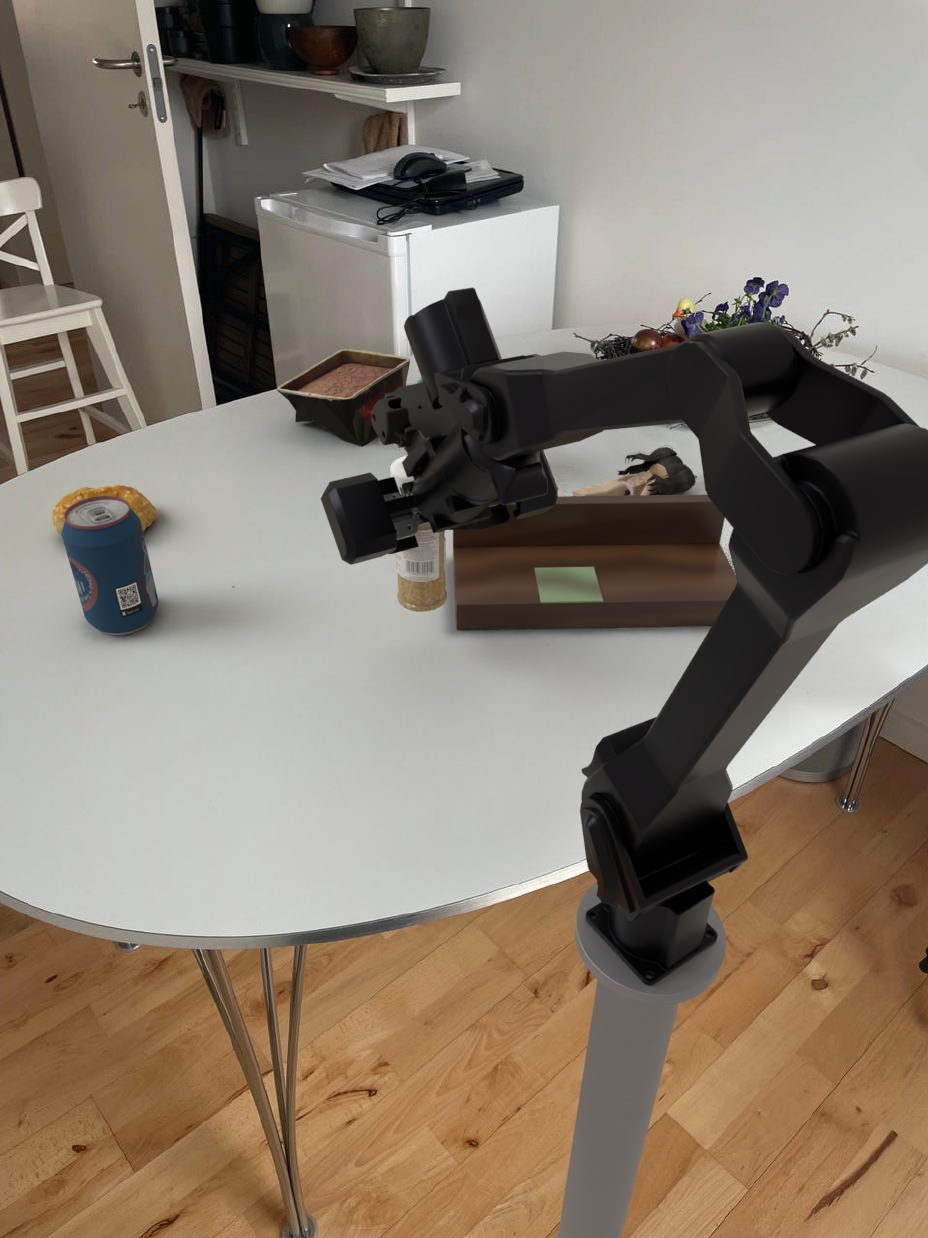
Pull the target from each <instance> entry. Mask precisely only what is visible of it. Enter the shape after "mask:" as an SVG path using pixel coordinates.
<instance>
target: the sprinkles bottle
mask: <svg viewBox="0 0 928 1238" xmlns="http://www.w3.org/2000/svg"><path fill="white" fill-rule="evenodd" d="M406 457H407V455H404V456H400V457H399V458H397V459H395V460H394V461H393V462H392V463H391V465H390V466H389V478H390V477H394V478H395V481H396V483H397V486H398V489H399V492H400V495H401V496H403V495H402V494H401V491H400V486H401V484H403V483H407V482H411V481H414V478H413V476H412V477H407V476H406V473H405V470H404V467H403V464H402V462H403V461H404V460H405V458H406ZM411 495H413V494H412V493H411ZM406 496H408V495H407V493H406ZM418 512H419V513H420V515H421V512H420V511H418ZM416 513H417V512H414V514H415V515H416ZM445 531H446V530H445ZM445 531H441V532H438V533H434V534H433V531H432V528H431V525H430V523H428V524H424V525H420V526H418V531H417V533H416V534H415V537H416V539H417V542H418V545H419V547H416V548H413V549H409V550H405V551H402V552H398V553H395V565H396V566H395V567H396V572H397V596H396V597H397V603H398V604H400V606H402V607H403V608H405V609H407V610H409V611H411V612H416V613H417V612H418V613H423V612H431V611H435V610H437V609H439V608H441V607H442V606H443V605H445V604H446V601H447V600H448V591H447V589H446V588H447V582H446V579H447V577H446V569H447V544H446V542H447V541H446V535H445V533H446V532H445Z"/></svg>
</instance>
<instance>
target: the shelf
mask: <svg viewBox="0 0 928 1238" xmlns="http://www.w3.org/2000/svg"><path fill="white" fill-rule="evenodd" d="M506 507H507V509H508V512H509V515H510V518H509V521H508V522H507V523H505V524H501V525H497V526H494V527H490V528H486V529H483V530H452V573H453V576H452V577H453V592H454V594H453V595H454V610H455V611H454V612H455V627H456V628H455V629H456V631H468V630H469V631H472V630H473V631H475V630H477V631H479V630H480V631H482V630H530V629H531V630H532V629H534V630H535V629H536V630H537V629H541V630H542V629H589V628H646V627H647V628H648V627H650V628H651V627H699V626H700V627H703V626H704V627H705V626H712V625H713V623H714V622H715V620H716V619H717V617H718V615H719V614H720V612H721V610H722V609H723V607H724V605H725V604H726V602H727V600H728V599H729V597H730V595H731V594H732V592H733V591H734V589H735V587H736V584H737V578H736V574H735V570H734V568H733V567H732V565H731V563H730V560H729V559H728V557H727V555H726V553H725V550H723V547H722V544H721V539H722V535H723V529H724V524H725V520H726V518H725V517H724V516H723V515H722V513H721V512H720V511H719V510H718V508H717V507H716V506H715V505H714V503H713V502H712V501H711V500H710V498H709V497H708V495H707V494H682V495H680V494H674V495H660V494H656V495H653V494H649V495H633V496H573V495H572V496H571V495H570V496H569V495H567V496H566V495H562V496H558V497H557V501H556V504H555V505H554V506H553V507H552V508H551V509H549V510H548V511H547V512H544V513H541V514H537V515H533V516H530V517H526V518H522V519H516V518H515V516H514V513H513V511H514V510H516V509H517V506H516V503H512V504H508V505H506Z"/></svg>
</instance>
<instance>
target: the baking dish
mask: <svg viewBox="0 0 928 1238" xmlns="http://www.w3.org/2000/svg"><path fill="white" fill-rule="evenodd" d="M410 363H411V359H410V358H409V357H406V356H405V357H404V356H401V355H395V354H390V353H385V352H384V353H383V352H380V351H372V350H365V349H364V350H363V349H362V350H361V349H354V348H341V349H339V350H336V352H334V353H333V354H330V355H329V356H327V357H326V358H324V359H322V360H321V361H319V362H318V363H316V364H314V365H313V366H310V367H309V368H307V369H305V370H304V371H302V372H301V373H299V374H297V375H295V376H294V377H292V378H291V379H289V380H286V381H285V382H284V383H282V384H281V385H279V386H278V387H277V388H276V391H277V392H278V393H279V394H280V395H282V396H283V397H284V398H285V399H286V400H287V401H288V402H289V403H290V405H291V406H292V407H293V409H294V410H295V417H294V418H295V419H294V421H295V422H294V423H303V422H304V423H307V422H313V423H315V424H317V426H319V427H322V428H323V429H325V430H326V431H328V432H329V433H330V434H333V435H334V436H336V437H337V438H339V439H341V441H344V442H346V443H349V444H352V445H355V446H359V447H364V446H366V445H368V444H369V443H371V442H372V441H373V440H375V439H376V438H379V437H378V435H377V433H376V431H375V430H374V428H373V426H372V422H371V416H372V410H373V407H374V406H375V404H376V403H377V402H378V401H379V400H381V399H384V396H385V394H387V393H392V392H395V391H396V390H397V389H398V388H399V387H402V386H407V381H408V380H407V379H408V376H409V370H410Z"/></svg>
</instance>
